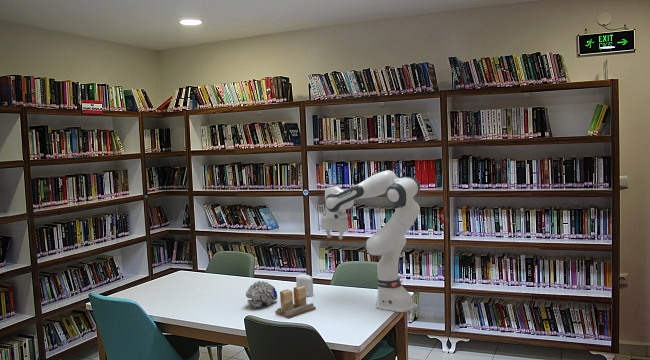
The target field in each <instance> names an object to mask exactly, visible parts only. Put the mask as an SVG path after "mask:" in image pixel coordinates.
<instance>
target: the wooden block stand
mask: <svg viewBox="0 0 650 360" xmlns="http://www.w3.org/2000/svg"><path fill="white" fill-rule="evenodd" d="M279 297H280V298H279V300H280V307H278V308H276V310H275V313H274V314H276V315H278V316H280V317H284V318H287V319H292V318H296V317H299V316H302V315H304V314H307V313H310V312H313V311H315V310H317V309H316V306H314V303H312V302H311V303H307V305H304V306H301V307H298V308H295V303H294V293H293V290H291V289H288V288H287V289H284V290H281V291H279Z"/></svg>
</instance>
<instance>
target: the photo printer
mask: <svg viewBox="0 0 650 360" xmlns="http://www.w3.org/2000/svg"><path fill="white" fill-rule="evenodd" d="M295 277H296V278H295V280H296V281H295V282H296V286H295V287H297V286H305V288H306V297H309V298H310V297H311V298H312V297H313V296H314V284H313V283H314V281H313V280H314V279H313V276H311V275H309V274H304V273H303V274H297V275H296V276H295Z"/></svg>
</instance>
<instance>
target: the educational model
mask: <svg viewBox="0 0 650 360" xmlns="http://www.w3.org/2000/svg"><path fill="white" fill-rule="evenodd" d="M245 297H246V298H248V299H246V300H247V302H246V303H247V304H248V305H249V306H251V307H254V309H256V308H260V307H261V306H263V303H264V304H265V305H266V306H268V307H269V306H270V305H271V304H272V303H273V301H276V300H277V299H278V292H277V290H276V288H275V287H274V285H272V284H271V283H269V282H267V281H266V282H265V281H261V280H258V281H255V282H254V283H253V284H251V285H250V286H249V287H248V289H247V290H246V292H245Z"/></svg>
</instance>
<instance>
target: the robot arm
mask: <svg viewBox="0 0 650 360" xmlns="http://www.w3.org/2000/svg"><path fill="white" fill-rule="evenodd" d="M420 190H421V184H420V181H419V180H418V179H417V178H415V177H412V176H402V175H401V176H400V177H398V176H397V175H396V173H395V172H394V171H393V170H390V169H387V170H384V171H380V172H376V173H375V174H373V175H370V176H369V177H368V178H366V179H364V180H363V181H361V182H359V183H357V184H356V185H354V186H352V187H350V188H348V189H346V190H343V189H342V188H341V187H340V186H338V185H332V186H328V187H326V188H325V191H324V206H325V209H324V210H325V213H322V214H321V218H320V228H321V230H325V234H326V237H327V238H328V239H329V238H332V234H331V232H330V231H332V232H333V231H334V232H339V235H338V240H343V236H344V234H345V233H347V232H349V228H350V227H349V220H348V213H346V212H344V210H348V209H351V208H353V206H354V205H355V200H359V199H367V198H368V199H369V198H375V197H379V196H381V195H383V194H385V196H386V199H387V200H388V202H389V203H390V204H391V205H393V206H394V207H395V208H396V209H395V211H394V212H393V214H391V216H390V218H389V220H388V221H387V222H386V223H385V224H384V225H383V226H382V227H380V228H379V229H378V231H377V232H376V233H374V234H373V235H372V236H370V237H368V238H367V239H366V243H365V248H366V250H367V252H368V253H369V254H370V255H372V256H381V258H380V259H379V261H378V263H377V265H376V267H377V269H376V270H377V278H376V280H377V281H376V286H377V297H376V303H375V305H376V309H379V310H386V311H391V312H397V313H405V312H410V311H412V310H415V309H417V307H418V304H417V303H415V302H413V296H412V294H411V293H410V292H408V290H406V288H405V287H404V286H402V284H403V283H404V282H403V280H400V277H399V261H400V257H401V253H402V250H403V249H404V247H405V246H406V244H407V239H406V234H407V232H408V231H409V230H410V229H411V227H412V225H413V224H414V223H415V222H416V219H417V218H418V216H419V213H420V210H421V208H420V205H419V203H418V202H417V201H416V200H415V199H414V197H416V196H418V194H419V193H420Z"/></svg>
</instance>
